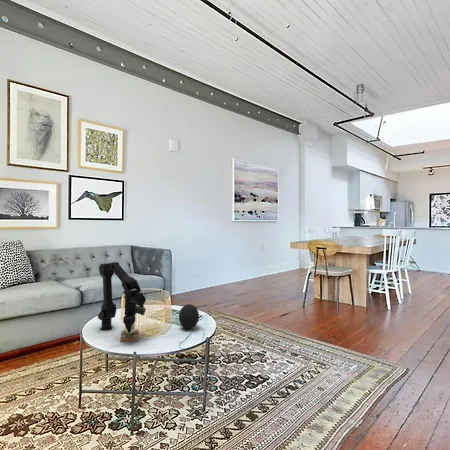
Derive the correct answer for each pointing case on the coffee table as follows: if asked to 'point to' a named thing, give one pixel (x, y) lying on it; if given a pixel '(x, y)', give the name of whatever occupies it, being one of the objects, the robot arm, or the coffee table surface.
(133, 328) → the peg
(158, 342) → the coffee table surface
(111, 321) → the robot arm
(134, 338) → the brown square frame
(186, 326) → the decorative egg
